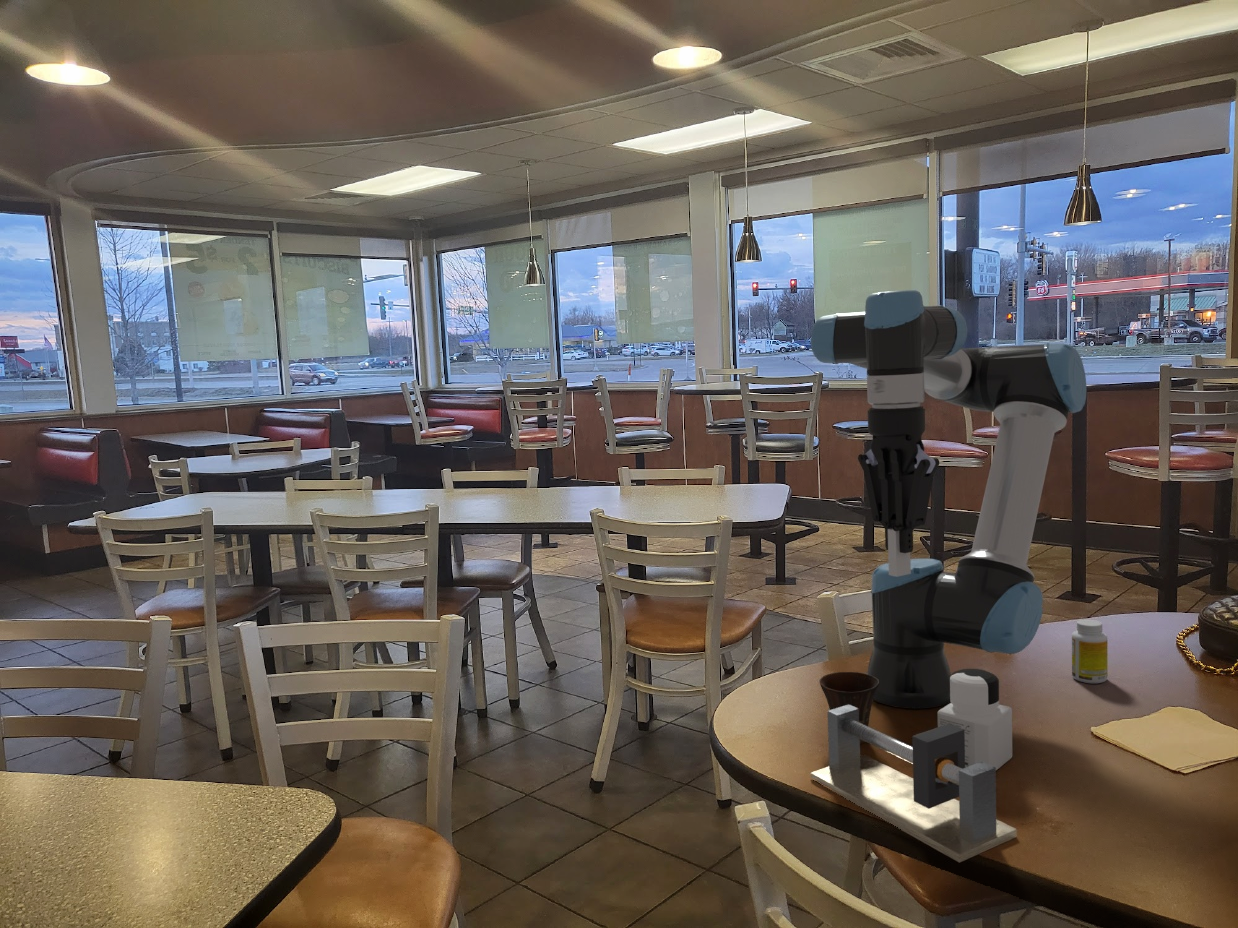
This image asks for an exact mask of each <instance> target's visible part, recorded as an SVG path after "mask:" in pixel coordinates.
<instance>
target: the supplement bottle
mask: <svg viewBox="0 0 1238 928" xmlns="http://www.w3.org/2000/svg"><path fill="white" fill-rule="evenodd" d="M1108 656H1109V655H1108V636H1107V634H1106V633H1105V632H1103V623H1102V622H1101V621H1099V620H1096V619H1078V620H1077V622H1076V630H1074V631H1073V632H1072V633H1071V676H1072V678H1073V679H1075V680H1076V681H1078V682H1081V683H1084V684H1085V683H1086V684H1093V685H1094V684H1095V685H1096V684H1101V683H1105V682H1106V681H1107V680H1108Z"/></svg>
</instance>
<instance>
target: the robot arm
mask: <svg viewBox="0 0 1238 928" xmlns="http://www.w3.org/2000/svg"><path fill="white" fill-rule="evenodd" d="M864 308H865V309H864V311H859V312H845V313H844V312H843V313H840V312H836V313H835V314H829V315H823V316H820V317H819V318H818V319H816V321H814V324H813V325H812V329H811V332H810V333H811V334H810V347H811V351H812V353H813V356H814V357H815V359H816V360H817V361H819V362H821V363H823V364H834V365H838V364H850V365H854V366H857V367H860V368H863V369H866V386H867V387H866V389H867V391H866V392H867V393H866V394H867V397H866V398H867V403H868V404H869V405H871V406H872V407H871V408H869V409H868V410H867V432H868V434H869V435H871V436H872V440H871V443H870V449H869V450H868V451H866V453H860V454H858V456H857V460H858V462H859V464H860V467H861V468H862V471H863V474H864V481H865V485H866V489H867V496H868V500H869V504H870V510H871V515H872V519H873V521H874V522H875V523H878V522H879V523H880V524H882V527H883V528H884V538H885V540H884V541H885V543H884V546H885V549H886V551H887V555H888V561H887V562H886V563H884V564H883V563H882V564H881V565H879V566H877V567H876V568H875V569H874V571H873V572H872V577H871V590H870V594H871V605H872V606H871V608H872V609H871V610H872V611H871V613H872V615H871V616H872V637H873V639H872V640H873V649H872V653H871V656H870V658H869V663H868V666H867V671H866V673H865V674H868V675H871V676H873V677H875V678H877V679H878V681H879V685H878V688H877V691H876V693H875V696H874V699H873V701H875V702H877V703H880V704H883V705H887V706H890V707H895V708H901V709H931V708H937V707H938V708H939V707H942V706H946V705H948V704H950V703H951V701H950V676H951V675H952V672H951V669H950V666H949V662H948V658H947V657H946V653H945V643H946V644H949V645H955V646H960V647H961V646H962V647H966V648H971V649H976V650H982V651H985V652H986V653H991V654H992V653H1001V654H1007V655H1014V654H1019V653H1021V652H1022V651H1024V650H1025V649H1026V648H1027V647H1028V646H1029V645H1030V644H1031V643H1032V641H1033V639H1034V638H1035V636H1036V634H1037V632H1038V629H1039V626H1040V624H1041V620H1042V616H1043V609H1044V608H1043V606H1042V605H1043V603H1044V598H1043V597H1044V596H1043V593H1042V590H1041V588H1040V587H1039V586H1038V585H1037V584H1035V582H1034V581H1035V575H1034V573H1033V572H1032V570H1031V569H1030V568H1029V566H1028V561H1029V555H1030V550H1031V545H1032V541H1033V535H1034V532H1035V525H1036V521H1037V517H1038V513H1039V507H1040V502H1041V497H1042V493H1043V488H1044V483H1045V479H1046V476H1047V475H1046V474H1047V469H1048V465H1049V460H1050V455H1051V450H1052V446H1053V441H1054V436H1055V433H1057V432H1060V431H1061V430H1062V429H1064V428H1065V427H1066V426H1067V424H1068V423H1067V422H1068V418H1069V413H1071V414H1075V413H1078V412H1081V411H1082V410H1083V407H1085V404H1086V400H1087V379H1086V378H1087V376H1086V370H1085V367H1084V366H1085V365H1084V363H1083V360H1082V357H1081V356H1080V353H1079V352H1078V350H1077V349H1076V348H1075V347H1074V346H1072V345H1071V344H1068V343H1049V342H1045V343H1044V344H1028V345H1027V344H1026V345H1022V344H1021V345H1006V346H1005V345H1003V346H984V347H982V346H981V347H969V348H963V346H964V345H965V343H966V341H967V336H968V325H967V321H966V319H965V318H964V315H963V314H962V313H961V312H959V311H958V309H957V310H956V309H955V308H952V307H950V306H944V305H941V304H937V305H924V301H923V296H922V294H921V292H920V291H918V290H916V289H915V290H914V289H907V290H906V289H905V290H904V289H903V290H890V291H880V292H873V293H871V294H870V295H868V296H867V298H866V299H865V307H864ZM925 393H926V394H927V395H928V396H929V397H931V398H933V399H936V400H940V401H941V402H942V401H943V402H945V403H947V404H951V405H955V406H958V407H961V408H965V409H970V410H974V411H978V412H979V411H980V412H990V413H991V412H992V413H993V414H992V415H993V416H994V418H995V419H996V421H997V422H998V423H999V427H998V433H997V436H996V441H995V447H994V451H993V455H992V459H991V464H990V468H989V471H988V472H989V473H988V476H987V477H988V478H987V481H986V485H985V489H984V493H983V494H984V495H983V499H982V503H981V508H980V511H979V512H980V513H979V516H978V521H977V525H976V530H975V533H974V539H973V541H972V542H973V543H972V548H971V551H970V552H969V553H968V554H965V555H964V556H962V557H960V558H959V560H958V564H957V568H956V571H955V572H949V571H944V569H945V567H944V565H943V563H942V561H941V560H938V559H936V558H911V553H913V550H914V529H915V528H916V527H921V526H924V525H925V524H926V521H927V514H928V511H929V502H930V497H931V492H932V486H933V481H934V477H935V476H934V475H935V473H936V471H937V470H938V468H939V466H940V460H939V458H938V457H932V458H931V456H930V455H928V454H927V453H926V452H925V445H924V442H923V439H922V436H923V434H924V433H925V431H926V411H925V410H926V408H924V407H923V406H922V405H921V403H924V402H925V401H926V400H925V399H926V396H925Z"/></svg>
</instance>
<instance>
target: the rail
mask: <svg viewBox="0 0 1238 928" xmlns="http://www.w3.org/2000/svg"><path fill="white" fill-rule="evenodd" d="M827 734H828V735H827V736H828V737H827V738H828V742H827V743H828V766H826V767H823V768H821V769H818V770H814V771H812V772H810V778H811V777H812V778H813V779H815V780H817V781H818V782H820V783H821V784H823V785H825V786H827V787H829V788H831V789H832V790H833V791H835V792H837V793H838V794H840V795H842V796H843V797H844V798H843V797H842V798H843V799H845V798H846V799H845V800H847V801H849V800H850V801H851V802H850V801H849V802H850V803H852V802H853V803H852V804H854V803H855V804H854V805H855V806H857V807H859V806H860V807H859V808H861V807H862V808H861V809H863V808H864V809H863V810H864V811H866V810H867V811H866V812H868V811H869V813H870V812H871V813H870V814H872V813H873V814H872V815H874V814H875V815H876V816H875V815H874V816H875V817H877V816H878V817H877V818H879V817H880V818H879V819H881V818H882V819H884V820H885V822H886V821H887V822H886V823H888V822H889V823H888V824H890V823H891V824H893V825H894V827H895V826H896V827H895V828H897V827H898V828H897V829H899V830H900V829H901V830H900V831H902V832H904V833H905V834H908V835H909V836H911V837H913V838H915V839H917V840H918V841H921V842H922V843H924V844H926V845H927V846H929V847H931V848H933V849H934V850H936V851H938V852H940V853H942V854H943V855H945V856H947V857H949V858H951V860H954V861H955V862H958V863H962V862H964V861H966V860H969V859H970V858H973V857H975V856H978V855H980V854H982V853H984V852H986V851H988V850H990V849H992V848H996V847H998V846H999V845H1002V844H1004V843H1006V842H1008V841H1011V840H1013V839H1015V838H1017V836H1018V835H1017V833H1018V831H1017V828H1015V827H1013V826H1011V825H1008V824H1007V823H1005V822H1003V821H1001V820H999V819H997V775H996V774H997V772H996V771H997V770H996V767H993V766H991V765H989V764H986V763H984V762H979V763H977V764H974V765H971V766H969V767H966V768H963V769H962V768H959V767H957V766H955V765H954V763H953V762H952V761H951V760H949V759H946V758H944V757H941V758H938V759H935V778H937V779H940V780H942V781H944V782H948V781H950V782H953V783H955V784H957V785H959V797H958V799H959V800H958V799H957V798H955V799H952V800H950V801H947V802H945V803H942V804H940V805H937V806H935V807H932V808H930V809H928V808H926V807H924V806H922V805H920V804H918V803H916V802H915V801H914V787H913V777H911V776H909V775H906V774H904V773H903V772H901V771H898V770H896V769H894V768H892V767H890V766H888V765H886V764H884V763H882V762H880V761H879V760H876V759H874V758H871V757H870V756H868V755H865V754H861V744H860V739H861V740H863V741H865V742H864V743H868V744H870V745H872V746H873V747H876V748H878V749H881V750H883V751H885V752H887V753H889V754H890V755H893V756H895V757H897V758H899V759H902V760H904V761H905V762H908V763H910V764H912V765H913V745H910V744H908V743H906V742H904V741H901V740H899V739H897V738H894V737H892V736H890V735H888V734H885V733H883V732H881V731H879V730H877V729H874V728H872V727H870V726H869V725H868V726H866V725H863V724H861V723H859V709H858V708H856V707H854V706H851V705H849V704H848V705H845V706H842V707H839V708H835V709H832V710H830V709H829V710H827ZM833 791H832V792H833ZM838 794H837V795H838ZM840 795H839V796H840ZM882 819H881V820H882ZM884 820H883V821H884ZM891 824H890V825H891ZM893 825H892V826H893Z"/></svg>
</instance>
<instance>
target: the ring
mask: <svg viewBox="0 0 1238 928" xmlns="http://www.w3.org/2000/svg"><path fill="white" fill-rule="evenodd" d="M911 741H912V746H913V764H912V774H913V776H912V778H913V787H914V801H915V802H916V803H918V804H920V805H922V806H924V807H926V808H928V809H930V808H932V807H935V806H937V805H940V804H942V803H945V802H947V801H950V800H952V799H957V798H959V785H957V784H955V783H953V782H950V781H948V782H944V781H942V780H940V779H937V778H935V759H938V758H941V757H944V758H946V759H949V760H951V761H952V762H953V763H954V765H955V766H957V767H959V768H962V769H963V768H965V733H964V729H962V728H959V727H957V726H954V725H952V724H946V725H943V726H940V727H938V726H937V727H935V728H933V729H929V730H926V731H922V732H919V733H917V734H914V735H912V737H911Z"/></svg>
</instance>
